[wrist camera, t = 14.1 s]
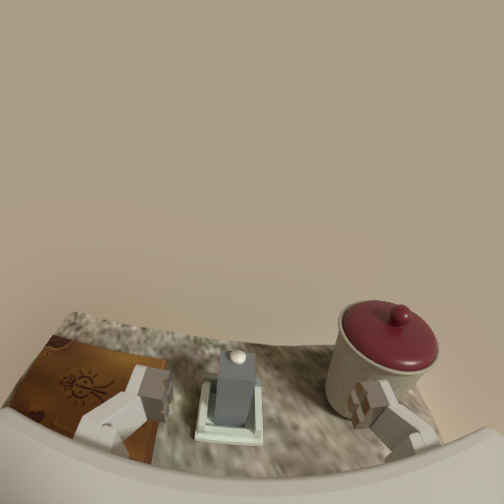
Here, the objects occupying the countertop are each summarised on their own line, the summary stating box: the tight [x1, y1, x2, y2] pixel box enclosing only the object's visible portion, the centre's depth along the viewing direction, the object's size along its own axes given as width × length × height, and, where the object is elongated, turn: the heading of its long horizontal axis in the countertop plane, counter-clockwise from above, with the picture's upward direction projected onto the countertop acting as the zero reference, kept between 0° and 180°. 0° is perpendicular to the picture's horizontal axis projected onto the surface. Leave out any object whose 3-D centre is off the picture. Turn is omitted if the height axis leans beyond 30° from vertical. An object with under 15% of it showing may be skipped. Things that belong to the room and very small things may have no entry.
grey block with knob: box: [214, 350, 256, 427], centre depth 35 cm, size 5×5×13 cm
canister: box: [325, 300, 440, 419], centre depth 39 cm, size 18×18×21 cm
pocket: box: [195, 373, 263, 446], centre depth 37 cm, size 10×11×5 cm
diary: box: [10, 335, 166, 464], centre depth 33 cm, size 23×19×6 cm
